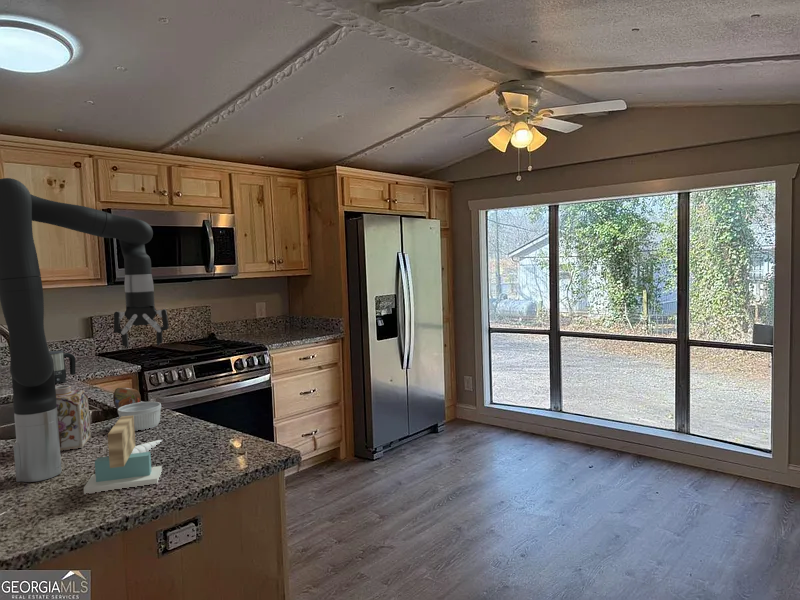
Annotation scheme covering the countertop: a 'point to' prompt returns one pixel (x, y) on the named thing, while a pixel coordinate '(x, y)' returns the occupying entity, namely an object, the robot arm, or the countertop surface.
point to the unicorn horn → (145, 447)
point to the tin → (125, 397)
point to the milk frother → (62, 365)
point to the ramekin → (142, 414)
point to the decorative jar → (72, 417)
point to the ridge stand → (123, 474)
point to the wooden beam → (121, 441)
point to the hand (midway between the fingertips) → (142, 346)
